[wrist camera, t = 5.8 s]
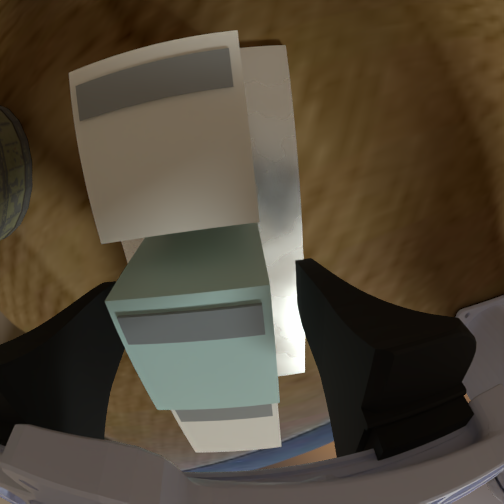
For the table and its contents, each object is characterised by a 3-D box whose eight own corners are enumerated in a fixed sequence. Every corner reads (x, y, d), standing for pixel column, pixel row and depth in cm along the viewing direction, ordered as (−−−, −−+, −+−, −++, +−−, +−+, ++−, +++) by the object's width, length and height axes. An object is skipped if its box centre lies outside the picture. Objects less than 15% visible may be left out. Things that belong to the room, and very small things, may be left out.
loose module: (255, 211, 13) (270, 287, 7) (265, 306, 15) (280, 405, 9) (154, 224, 13) (103, 303, 7) (178, 315, 15) (156, 412, 9)
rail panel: (284, 47, 11) (289, 39, 10) (303, 368, 19) (307, 383, 18) (94, 82, 11) (80, 80, 10) (174, 380, 19) (171, 395, 18)
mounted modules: (236, 65, 10) (237, 28, 6) (272, 378, 17) (281, 448, 13) (128, 85, 10) (66, 72, 5) (200, 385, 17) (195, 454, 13)
